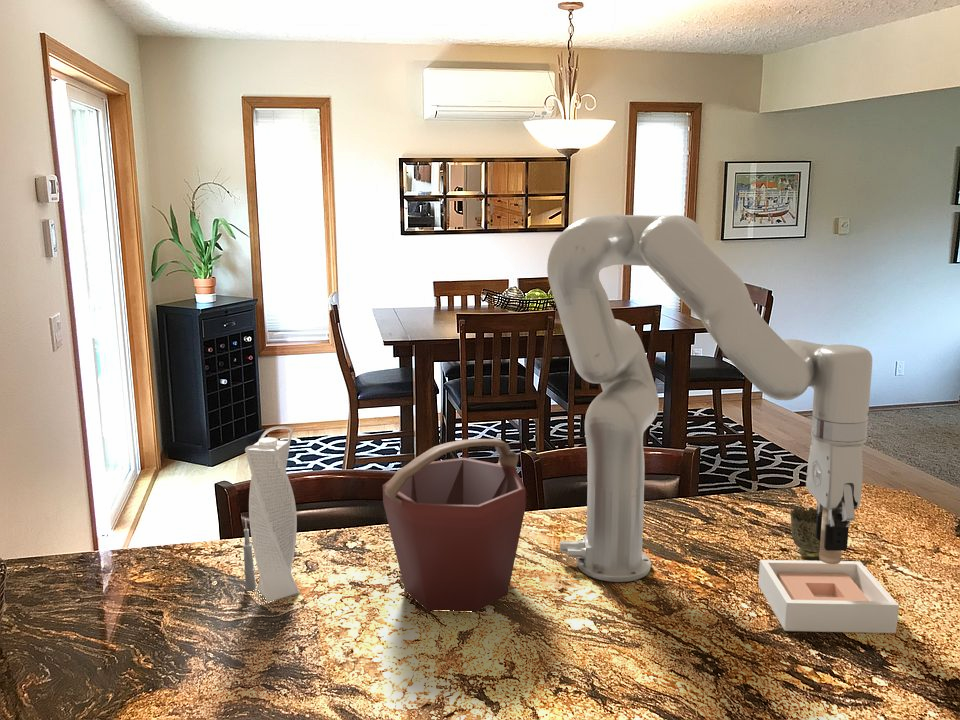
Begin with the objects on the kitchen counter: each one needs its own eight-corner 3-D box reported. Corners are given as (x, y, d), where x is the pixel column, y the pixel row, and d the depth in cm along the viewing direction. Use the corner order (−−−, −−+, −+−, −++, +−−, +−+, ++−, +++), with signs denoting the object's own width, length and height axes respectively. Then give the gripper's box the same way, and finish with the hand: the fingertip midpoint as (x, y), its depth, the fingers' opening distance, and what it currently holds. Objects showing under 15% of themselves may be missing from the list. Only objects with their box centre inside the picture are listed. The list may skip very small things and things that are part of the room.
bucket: (504, 549, 147) (503, 417, 142) (556, 607, 127) (558, 455, 122) (372, 572, 139) (366, 433, 134) (405, 637, 119) (399, 476, 113)
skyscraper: (292, 576, 138) (281, 419, 132) (311, 595, 132) (301, 431, 126) (243, 590, 134) (230, 428, 128) (261, 611, 127) (248, 441, 121)
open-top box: (784, 630, 119) (786, 602, 118) (758, 585, 133) (759, 559, 132) (896, 633, 118) (899, 605, 117) (857, 586, 132) (860, 561, 131)
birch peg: (823, 564, 122) (827, 501, 120) (816, 555, 125) (820, 494, 123) (843, 564, 122) (848, 501, 120) (836, 555, 125) (840, 494, 123)
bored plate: (799, 619, 120) (800, 607, 120) (776, 584, 131) (777, 572, 131) (874, 621, 120) (876, 608, 119) (846, 585, 130) (847, 573, 130)
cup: (825, 547, 146) (828, 506, 144) (838, 566, 139) (842, 523, 137) (782, 546, 147) (785, 505, 145) (793, 565, 140) (797, 521, 138)
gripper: (795, 414, 128) (788, 523, 131) (833, 446, 112) (824, 569, 116) (843, 413, 127) (836, 523, 131) (889, 445, 111) (878, 569, 115)
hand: (830, 543), depth 123 cm, fingers closed on birch peg, 3 cm apart
